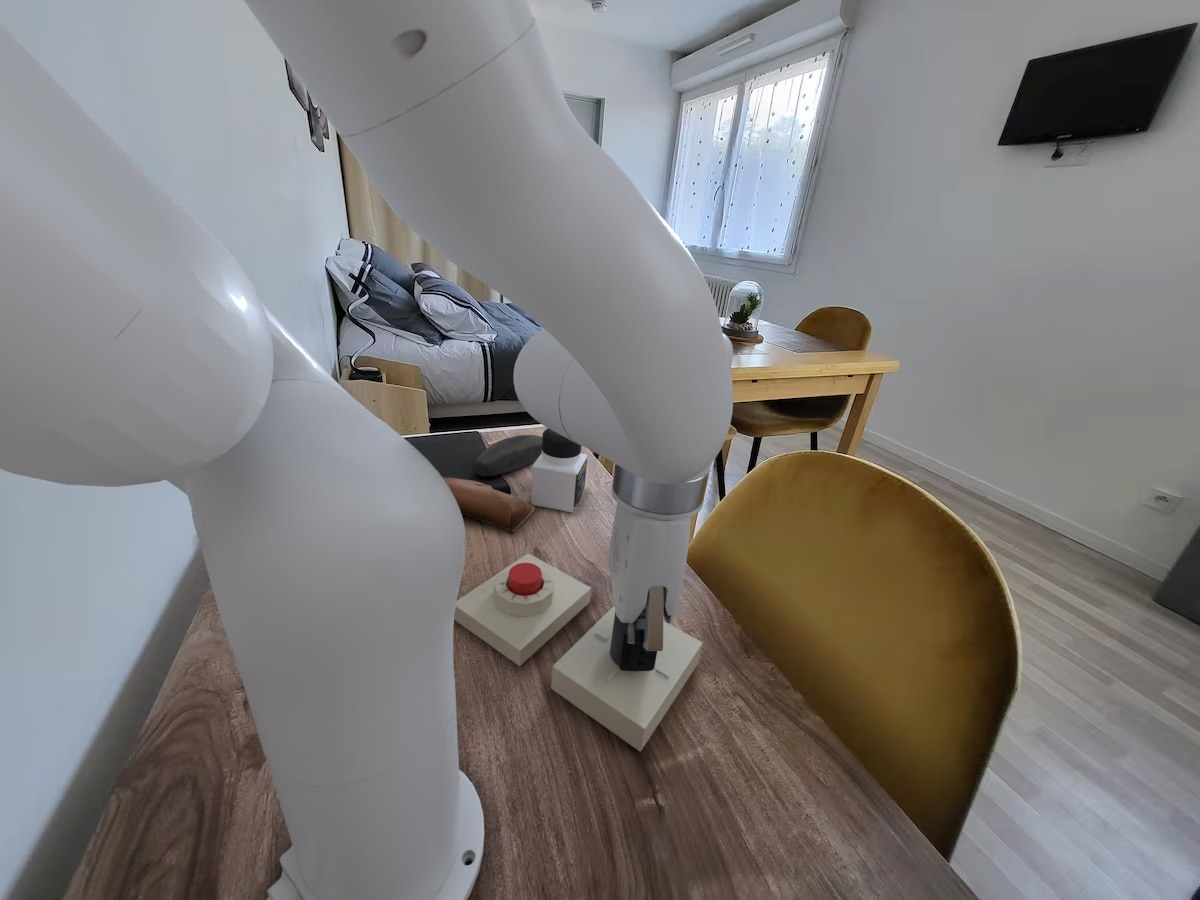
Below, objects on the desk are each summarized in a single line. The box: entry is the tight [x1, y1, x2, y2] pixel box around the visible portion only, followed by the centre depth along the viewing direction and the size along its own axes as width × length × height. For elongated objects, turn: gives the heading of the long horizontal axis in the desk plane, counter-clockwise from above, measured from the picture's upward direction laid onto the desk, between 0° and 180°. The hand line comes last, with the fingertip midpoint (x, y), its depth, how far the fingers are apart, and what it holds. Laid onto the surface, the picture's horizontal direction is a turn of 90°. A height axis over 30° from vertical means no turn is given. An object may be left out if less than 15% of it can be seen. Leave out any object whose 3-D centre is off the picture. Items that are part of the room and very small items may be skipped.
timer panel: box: [550, 605, 704, 752], centre depth 48 cm, size 12×10×3 cm
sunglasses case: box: [442, 477, 536, 533], centre depth 73 cm, size 18×7×7 cm, turn 69°
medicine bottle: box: [530, 428, 588, 514], centre depth 76 cm, size 7×7×12 cm
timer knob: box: [610, 612, 645, 666], centre depth 46 cm, size 4×4×5 cm
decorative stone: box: [472, 434, 542, 478], centre depth 88 cm, size 17×6×4 cm, turn 151°
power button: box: [508, 563, 542, 596], centre depth 53 cm, size 4×4×2 cm
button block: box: [454, 552, 592, 667], centre depth 54 cm, size 12×10×4 cm
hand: (632, 645), depth 47 cm, fingers closed on timer knob, 4 cm apart
